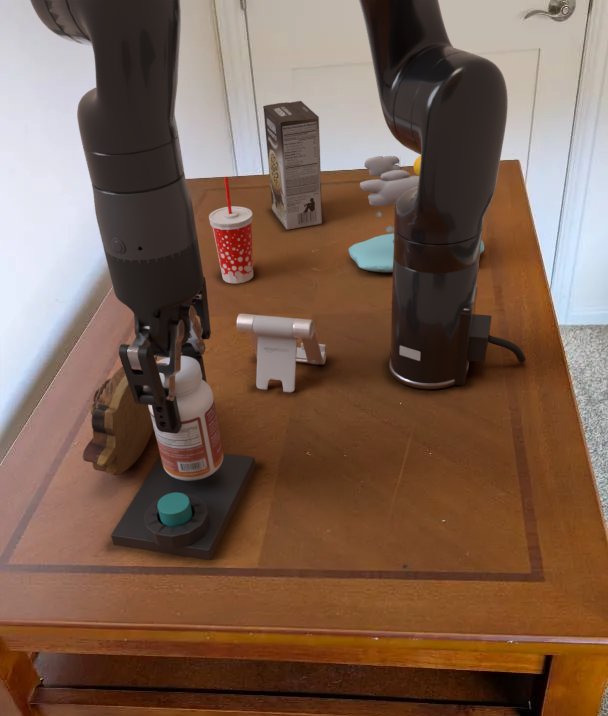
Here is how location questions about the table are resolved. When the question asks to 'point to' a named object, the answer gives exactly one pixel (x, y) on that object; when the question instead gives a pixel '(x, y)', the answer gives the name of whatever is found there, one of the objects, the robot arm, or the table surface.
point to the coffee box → (294, 163)
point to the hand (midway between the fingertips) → (183, 408)
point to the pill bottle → (191, 427)
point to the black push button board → (208, 505)
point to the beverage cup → (233, 240)
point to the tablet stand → (281, 347)
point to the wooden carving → (117, 427)
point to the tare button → (174, 509)
